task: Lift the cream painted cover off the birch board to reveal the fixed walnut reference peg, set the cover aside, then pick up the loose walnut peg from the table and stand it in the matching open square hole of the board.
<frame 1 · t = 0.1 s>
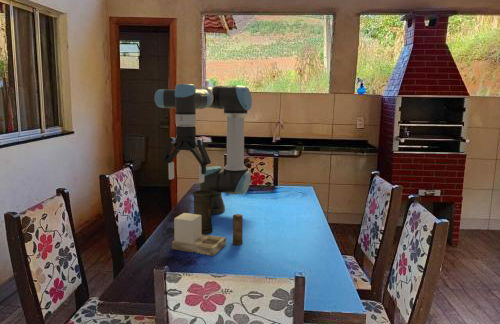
hand: (186, 180, 151), 28 cm above the table, fingers open, 13 cm apart
board: (199, 246, 158), on the table
container: (202, 231, 176), on the table
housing: (188, 237, 159), point 3 cm above the table, touching board
peg: (237, 243, 162), on the table
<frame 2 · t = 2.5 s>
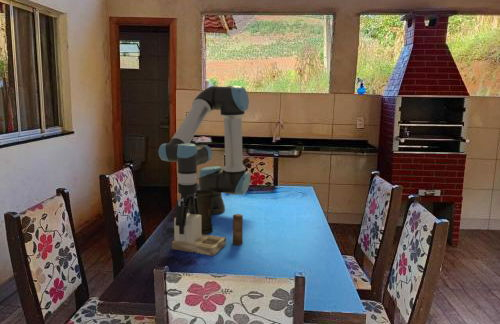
hand: (188, 237, 159), 3 cm above the table, fingers closed on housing, 8 cm apart
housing: (188, 237, 159), point 3 cm above the table, touching gripper
everything else where it was.
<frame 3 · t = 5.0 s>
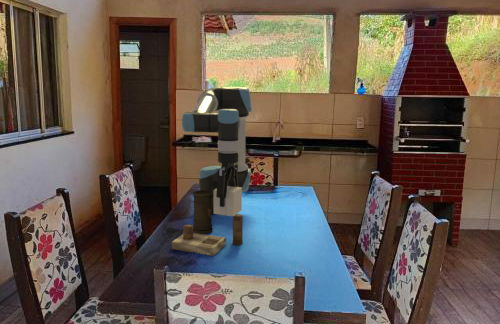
hand: (227, 211, 147), 17 cm above the table, fingers closed on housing, 8 cm apart
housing: (227, 212, 147), point 17 cm above the table, touching gripper
everything else where it was.
when the fingers open (2 cm above the table, at t = 7.8 s): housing drops 1 cm, on the table.
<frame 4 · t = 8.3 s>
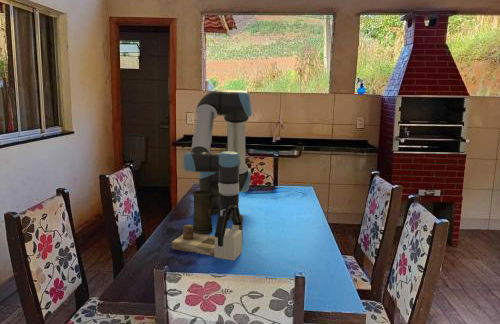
hand: (228, 247, 150), 3 cm above the table, fingers open, 13 cm apart
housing: (228, 254, 150), on the table
peg: (237, 243, 162), on the table, touching hand
everything else where it was.
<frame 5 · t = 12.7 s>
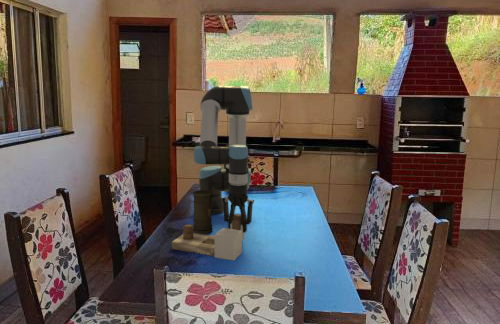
hand: (237, 238, 161), 2 cm above the table, fingers closed on peg, 4 cm apart
peg: (237, 243, 162), on the table, touching gripper
everything else where it was.
when the fingers open (4 cm above the table, at t = 17.6 s): peg stays where it is, resting in board.
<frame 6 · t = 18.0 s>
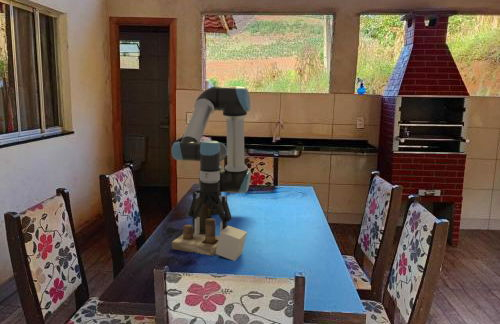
hand: (209, 235, 155), 6 cm above the table, fingers open, 10 cm apart
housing: (229, 253, 150), point 1 cm above the table, tilted 12°, touching gripper
peg: (210, 248, 156), resting in board
everything else where it was.
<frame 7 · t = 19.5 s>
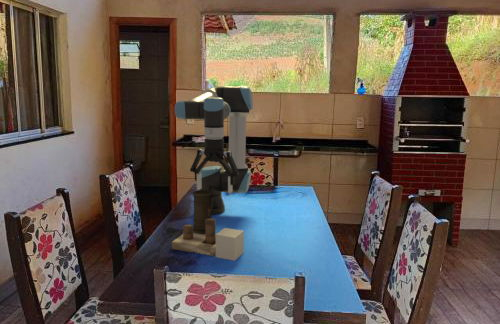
hand: (214, 190, 156), 23 cm above the table, fingers open, 13 cm apart
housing: (229, 254, 150), on the table
everything else where it was.
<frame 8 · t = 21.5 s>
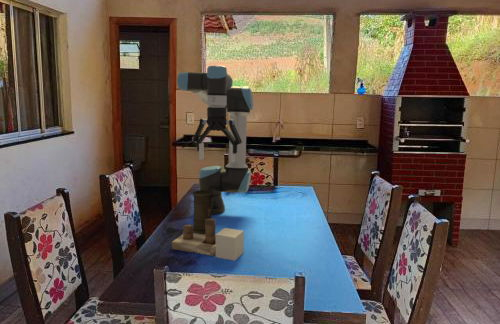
hand: (216, 160, 155), 35 cm above the table, fingers open, 13 cm apart
nothing on the table moved.
at the end: peg 0.2 cm from the target spot on the board, point 0.0 cm above the board's base; peg tilted 0°; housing moved 19.9 cm from its start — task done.
